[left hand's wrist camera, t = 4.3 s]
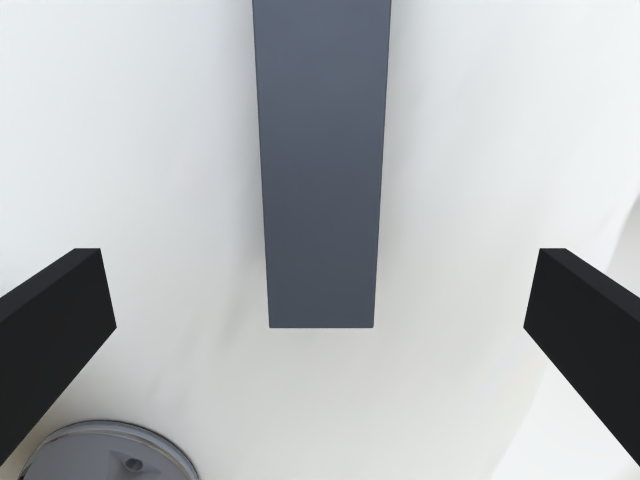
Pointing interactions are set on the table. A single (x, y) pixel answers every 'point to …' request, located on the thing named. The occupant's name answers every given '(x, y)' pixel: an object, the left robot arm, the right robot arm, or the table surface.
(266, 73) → the post
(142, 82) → the table surface
